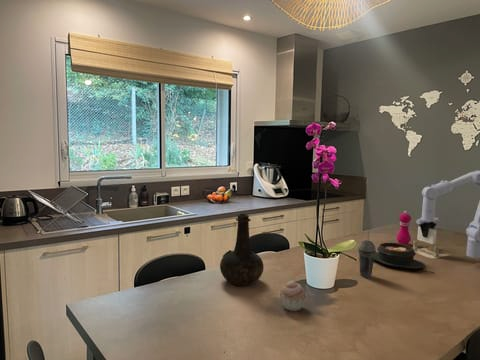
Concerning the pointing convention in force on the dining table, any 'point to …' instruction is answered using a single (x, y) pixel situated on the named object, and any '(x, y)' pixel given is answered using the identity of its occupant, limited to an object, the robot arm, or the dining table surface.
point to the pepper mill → (404, 229)
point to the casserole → (397, 256)
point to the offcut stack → (433, 249)
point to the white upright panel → (430, 238)
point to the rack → (427, 253)
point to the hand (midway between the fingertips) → (426, 236)
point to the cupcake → (293, 296)
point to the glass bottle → (242, 258)
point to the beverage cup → (366, 257)
